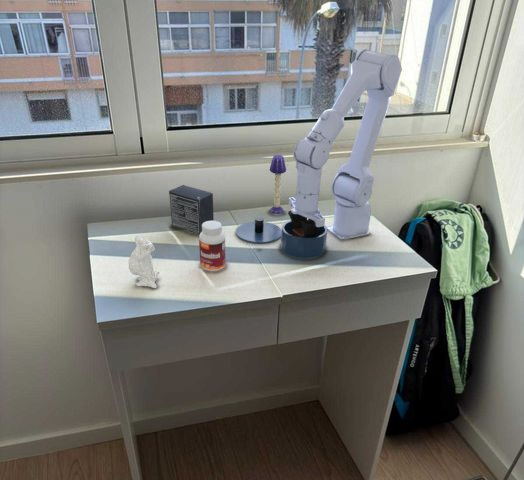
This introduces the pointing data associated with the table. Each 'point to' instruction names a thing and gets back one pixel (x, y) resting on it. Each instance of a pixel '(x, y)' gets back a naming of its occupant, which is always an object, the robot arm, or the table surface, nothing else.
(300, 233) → the block
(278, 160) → the toy lamp
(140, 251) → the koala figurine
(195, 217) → the small box
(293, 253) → the bowl
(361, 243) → the table surface
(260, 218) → the lid
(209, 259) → the pill bottle
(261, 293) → the table surface
